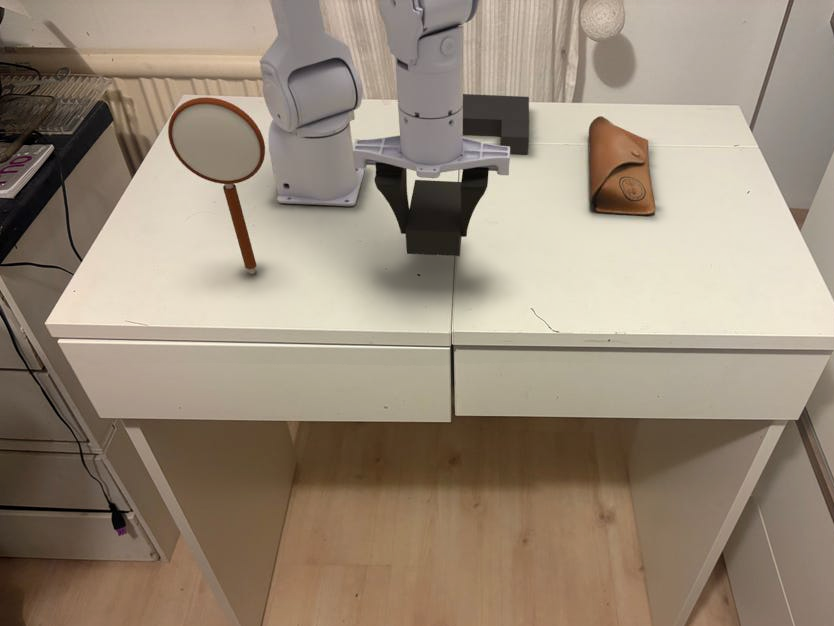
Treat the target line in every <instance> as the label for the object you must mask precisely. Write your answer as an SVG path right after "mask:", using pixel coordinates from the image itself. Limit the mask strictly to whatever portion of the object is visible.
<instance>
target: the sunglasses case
mask: <svg viewBox="0 0 834 626" xmlns="http://www.w3.org/2000/svg"><path fill="white" fill-rule="evenodd" d="M588 127H589V128H588V158H589V161H588V163H589V199H590V204H591V206H592V208H593V209H594V210H595V211H596V212H597V213H602V214H603V213H605V214H609V215H611V214H612V215H622V216H648V215H653V214H655V213H656V201H655V195H654V190H653V189H654V188H653V184H652V178H651V171H650V170H651V169H650V159H649V157H650V156H649V140H648V139H647V138H644V137H642V136H639V135H638V134H635V133H633V132H631V131H629V130H627V129H624V128H622V127H620V126H617V125H616V124H614V123H613V122H612V121H610V120H608V119H607V118H606V117H604V116H602V115H601V116H600V115H599V116H597V117H595V118H594V119H593V120H592V121H591V122H590V124H589V126H588Z"/></svg>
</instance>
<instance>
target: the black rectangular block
mask: <svg viewBox="0 0 834 626" xmlns="http://www.w3.org/2000/svg"><path fill="white" fill-rule="evenodd" d="M460 221H461V181H453V180H452V181H450V180H431V179H429V180H428V179H427V180H426V179H415V180H414V184H413V189H412V194H411V199H410V203H409V215H408V220H407V225H406V229H405V234H404V235H405V249H406V250H405V251H406V254H407V255H423V256H425V255H427V256H447V257H461V256H460V255H461V247H462V238H463V237H460Z"/></svg>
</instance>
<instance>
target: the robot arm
mask: <svg viewBox="0 0 834 626" xmlns="http://www.w3.org/2000/svg"><path fill="white" fill-rule="evenodd" d="M269 3H270V6H271V12H272V15H273V19H274V23H275V28H276V31H277V36H276V38H275V39H274V41H273V42H272V43H271V44H270V46H269V47H268V49H267V50H266V51H265V52H264V53H263V55H262V56H261V57H260V60H259V66H260V67H259V68H260V72H261V73H260V74H261V79H262V94H263V99H264V102H265V106H266V107H267V110H268V112H269V115H270V116H271V118H272V120H271V121H270V125H269V129H268V138H267V139H268V152H269V158H270V162H271V167H272V172H273V176H274V181H275V186H276V190H277V194H278V195H277V197H276V200H277V202H278V203H279V204H293V205H295V204H296V205H318V206H341V207H353V206H355V205H356V202H357V199H358V196H359V193H360V189H361V186H362V182H363V178H364V176H365V169H366V168H367V166H375V176H374V184H375V187H376V189H377V191H379V193H380V194H381V195H382V196H383V197H384V199H385V200H386V202H387V203H388V205H389V206H390V208H391V210H392V213H393V214H394V217H395V219H396V221H397V225H398V227H399V228H398V229H399V231H400V234H401V235H406V234H405V229H406V225H407V220H408V215H409V209H410V203H409V195H408V180H407V179H408V177H407V176H408V173H407V170H409V171H414V172H416V176H417V177H418V178H421V179H437V178H439V177H440V176H441V173H448V172H454V171H460V170H461V171H462V173H461V180H460V182H461V221H460V237H462V238H466V237H467V235H468V229H469V225H470V222H471V219H472V216H473V213H474V212H475V209H476V207H477V205H478V203H480V200H481V199H482V197H484V195H485V193H486V191H487V189H488V185H489V174H490V173H489V172H496V174H497V175H499V176H510V163H511V162H510V159H511V154H510V147H509V146H501V145H499V144H492V143H487V142H483V141H480V140H475V139H470V138H467V137H464V136H463V94H464V26H463V25H464V24H466V23H468V22H470V21H472V20H473V19H474V17H475V16H476V14H477V12H478V9H479V5H480V0H376V4H377V9H378V12H379V14H380V17H381V19H382V22H383V24H384V28H385V32H386V42H387V46H388V48H389V52H390V54H391V55H392V56H394V60H395V76H396V77H395V79H396V94H397V95H396V96H397V109H398V125H399V126H398V127H399V135H393V136H385V137H378V138H371V139H370V138H369V139H360V138H359V139H354V144H353V139H352V131H351V122H352V121H354V120H356V117H355V111H357V110H358V109H359V108H360V107H361V104H362V100H363V95H364V94H363V90H364V89H363V83H362V80H361V77H360V73H359V72H358V69H357V67H356V66H355V63H354V60H353V57H352V53H351V49H350V46H349V45H348V44H347V43H346V42H345V41H344V40H342V39H340V38H339V37H337V36H335V35H333V34H331V32H328V31H326V26H325V23H324V18H323V14H322V13H323V12H322V8H321V4H320V0H269Z"/></svg>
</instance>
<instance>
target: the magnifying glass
mask: <svg viewBox="0 0 834 626" xmlns="http://www.w3.org/2000/svg"><path fill="white" fill-rule="evenodd" d="M167 132H168V133H167V135H168V141H169V144H170V147H171V149H172V151H173V153H174V155H175V156H176V158H177V159H178V160H179V162H180V163H181V164H182V166H183V167H185V168H186V169H188V170H189V171H190V172H191V173H193V174H194V175H196V176H197V177H199V178H202V179H203V180H206V181H208V182H210V183H211V182H212V183H215V184H221V185H223V187H222V189H223V193H224V196H225V200H226V203H227V207H228V210H229V214H230V218H231V221H232V224H233V225H232V226H233V229H234V231H235V236H236V239H237V242H238V247H239V249H240V254H241V257H242V261H243V264H244V268H245V269H246V270H248V273H249V274H251V275H252V274H253V275H254V274H255V273H256V272H257V270H256V268H257V262H256V258H255V254H254V250H253V246H252V243H251V239H250V234H249V231H248V227H247V223H246V219H245V215H244V212H243V208H242V205H241V202H240V197H239V193H238V190H237V186H236V184H240V183H242V182H245V181H247V180H249V179H251V178H252V177H254V176H255V175H256V174H257V173H258V172H259V170H260V169H261V167H262V166H263V164H264V161H265V157H266V145H265V144H266V143H265V139H264V136H263V134H262V131H261V130H260V128H259V126H258V124H257V123H256V122H255V121H254V119H253V118H252V117H251V116H250V115H249V114H248V113H247V112H246V111H244V110H243V109H242V108H240V107H239V106H237V105H235V104H233V103H231V102H229V101H227V100H223V99H221V98H215V97H197V98H192V99H189V100H187V101H185V102H183V103H182V104H181V105H179V106H178V107H177V108H176V109H175V110H174V112H173V113H172V115H171V116H170V119H169V122H168V126H167Z"/></svg>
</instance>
